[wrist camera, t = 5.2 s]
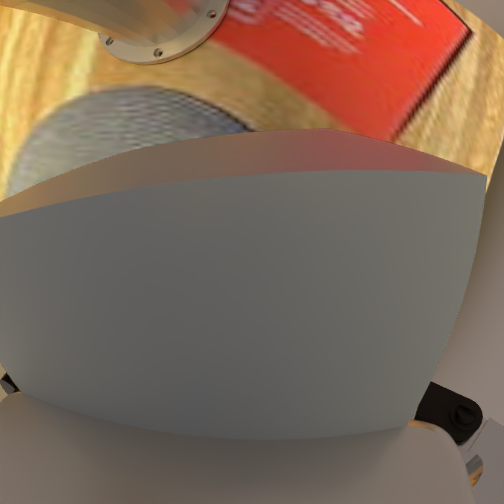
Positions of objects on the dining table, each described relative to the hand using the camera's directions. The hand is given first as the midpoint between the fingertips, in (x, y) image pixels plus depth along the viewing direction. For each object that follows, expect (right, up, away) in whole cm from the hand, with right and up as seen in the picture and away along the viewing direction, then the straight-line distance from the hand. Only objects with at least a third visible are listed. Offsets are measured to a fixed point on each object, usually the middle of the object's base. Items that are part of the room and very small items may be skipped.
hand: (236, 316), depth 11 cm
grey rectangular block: (0, +1, +2) cm, 2 cm away
